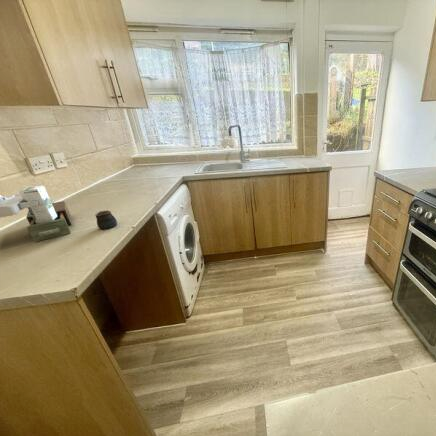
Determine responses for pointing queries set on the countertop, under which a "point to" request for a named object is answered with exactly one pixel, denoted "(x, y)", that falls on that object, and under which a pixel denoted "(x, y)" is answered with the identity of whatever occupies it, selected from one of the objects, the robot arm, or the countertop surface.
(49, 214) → the syrup box
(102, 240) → the countertop surface
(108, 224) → the mate gourd
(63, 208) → the cabinet
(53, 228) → the drawer
